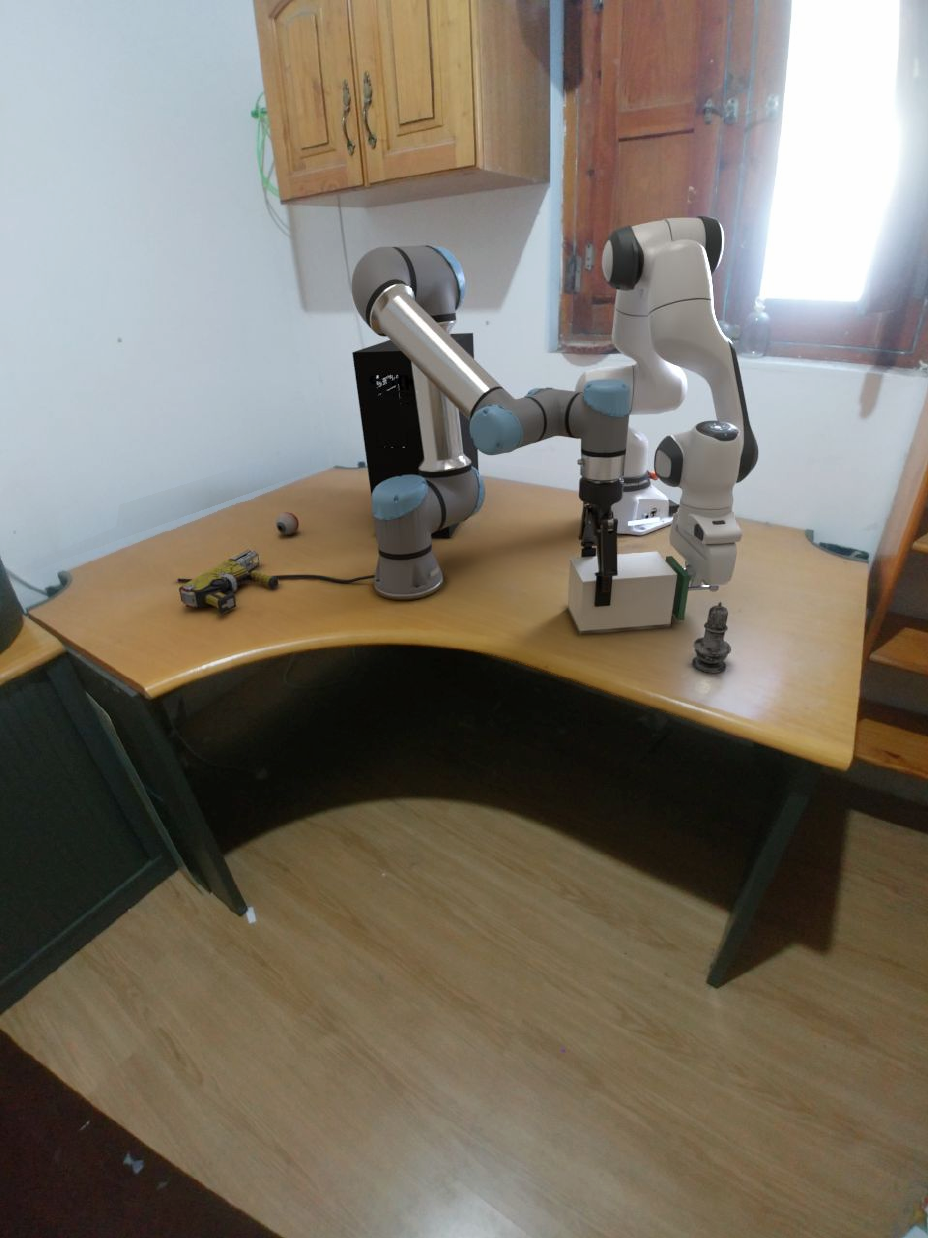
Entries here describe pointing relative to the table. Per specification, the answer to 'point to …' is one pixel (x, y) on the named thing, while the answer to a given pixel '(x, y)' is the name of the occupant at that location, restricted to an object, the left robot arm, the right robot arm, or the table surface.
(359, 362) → the black box
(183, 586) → the toy gun
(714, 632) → the dark grey chess piece
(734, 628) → the table surface
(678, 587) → the drawer
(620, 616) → the cabinet
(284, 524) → the eyeball
